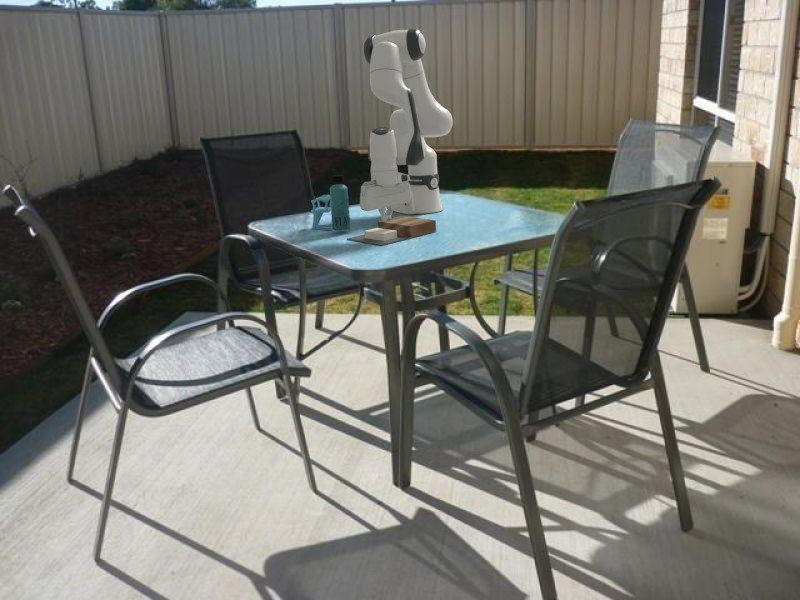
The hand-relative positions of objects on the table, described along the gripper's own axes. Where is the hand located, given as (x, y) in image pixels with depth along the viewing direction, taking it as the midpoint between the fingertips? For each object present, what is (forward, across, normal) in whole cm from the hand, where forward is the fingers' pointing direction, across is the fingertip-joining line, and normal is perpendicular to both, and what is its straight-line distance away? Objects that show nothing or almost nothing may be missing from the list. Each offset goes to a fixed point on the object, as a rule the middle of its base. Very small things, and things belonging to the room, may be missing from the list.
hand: (386, 220), depth 273 cm
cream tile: (+3, -4, 0) cm, 5 cm away
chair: (+6, -2, +31) cm, 32 cm away
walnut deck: (+6, +9, 0) cm, 11 cm away
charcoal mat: (+6, -4, 0) cm, 7 cm away
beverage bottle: (+6, -4, +19) cm, 20 cm away
